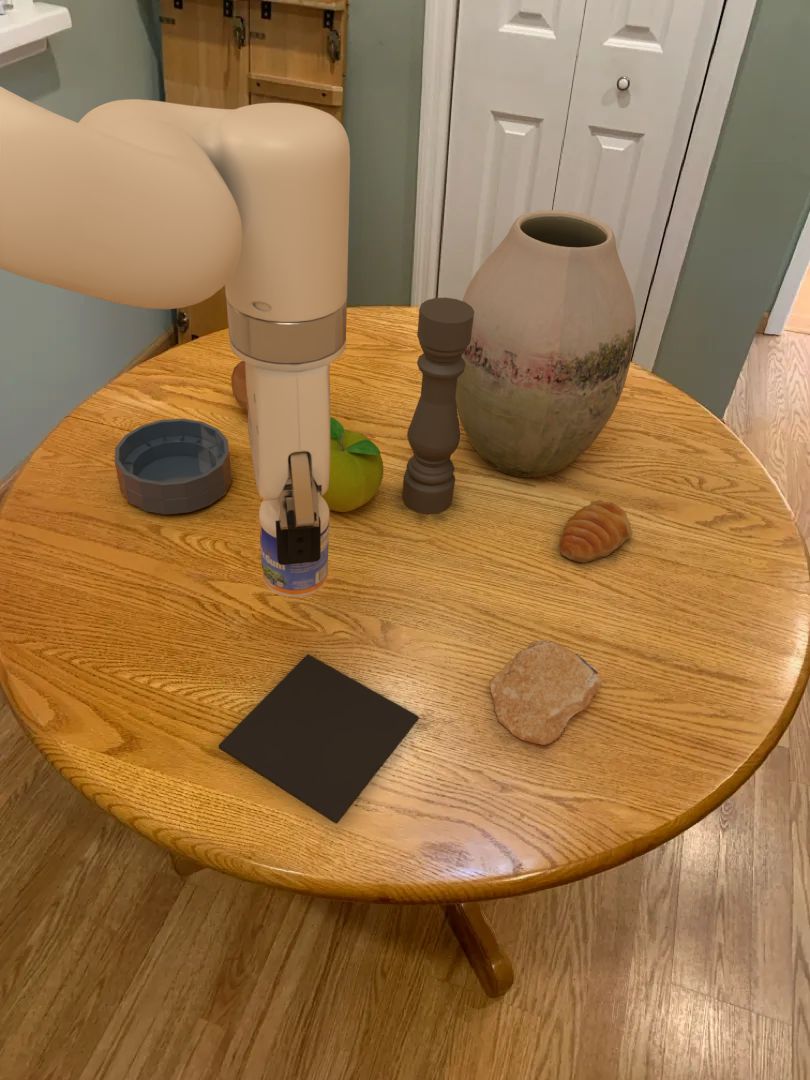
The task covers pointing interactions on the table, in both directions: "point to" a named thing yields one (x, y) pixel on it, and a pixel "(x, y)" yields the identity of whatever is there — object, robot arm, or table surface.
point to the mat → (320, 736)
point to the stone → (542, 691)
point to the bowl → (173, 466)
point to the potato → (240, 385)
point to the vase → (545, 343)
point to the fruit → (351, 469)
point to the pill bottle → (292, 576)
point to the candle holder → (437, 404)
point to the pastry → (595, 531)
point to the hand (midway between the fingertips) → (293, 531)
